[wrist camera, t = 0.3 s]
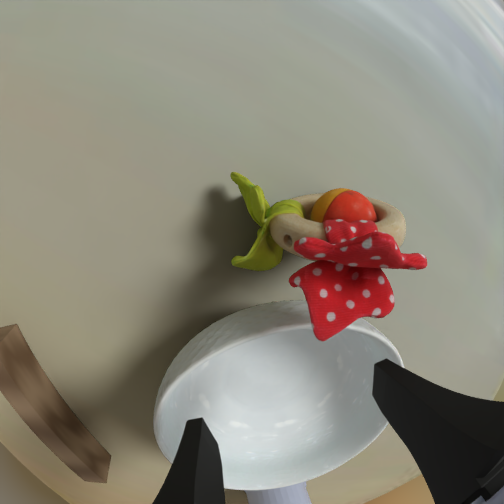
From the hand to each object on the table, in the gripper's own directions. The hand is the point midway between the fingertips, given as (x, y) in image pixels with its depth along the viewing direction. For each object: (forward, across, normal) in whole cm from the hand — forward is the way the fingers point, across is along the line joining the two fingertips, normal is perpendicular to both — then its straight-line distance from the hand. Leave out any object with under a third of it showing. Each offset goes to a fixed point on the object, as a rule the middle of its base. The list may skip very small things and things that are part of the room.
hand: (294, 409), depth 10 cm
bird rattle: (+10, -4, -6) cm, 12 cm away
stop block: (+10, +21, +6) cm, 24 cm away
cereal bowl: (+10, 0, +6) cm, 12 cm away
